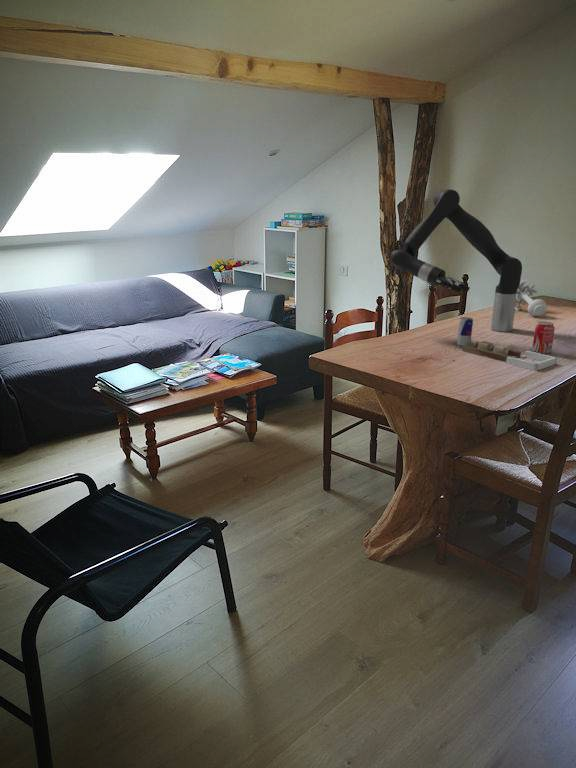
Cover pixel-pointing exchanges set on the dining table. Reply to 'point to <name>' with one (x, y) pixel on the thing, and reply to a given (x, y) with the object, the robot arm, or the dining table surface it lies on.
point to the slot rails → (489, 353)
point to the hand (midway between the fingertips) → (464, 290)
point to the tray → (544, 363)
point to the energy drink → (464, 332)
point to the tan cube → (485, 345)
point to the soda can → (543, 337)
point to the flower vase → (530, 300)
